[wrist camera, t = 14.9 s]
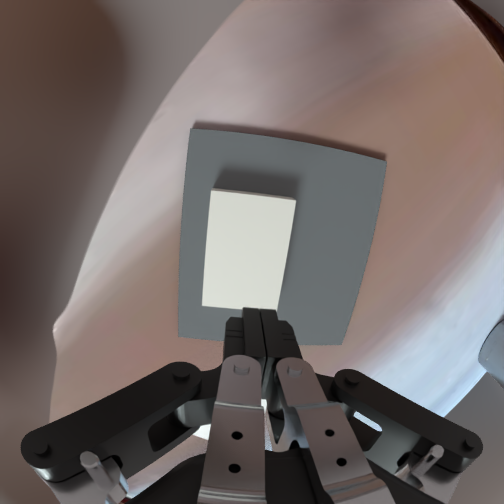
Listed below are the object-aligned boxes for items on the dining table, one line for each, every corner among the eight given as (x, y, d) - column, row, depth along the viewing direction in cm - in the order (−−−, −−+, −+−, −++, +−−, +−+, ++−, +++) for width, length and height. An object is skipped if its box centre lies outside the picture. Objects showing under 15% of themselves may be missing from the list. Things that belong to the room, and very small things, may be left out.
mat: (383, 161, 21) (387, 161, 21) (339, 341, 27) (341, 344, 26) (191, 129, 20) (190, 128, 19) (179, 333, 25) (178, 336, 25)
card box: (296, 200, 20) (211, 190, 19) (276, 311, 22) (201, 305, 22) (291, 197, 21) (212, 188, 21) (273, 301, 24) (203, 295, 23)
